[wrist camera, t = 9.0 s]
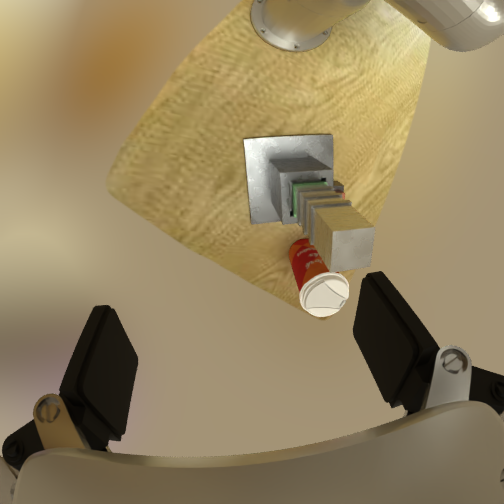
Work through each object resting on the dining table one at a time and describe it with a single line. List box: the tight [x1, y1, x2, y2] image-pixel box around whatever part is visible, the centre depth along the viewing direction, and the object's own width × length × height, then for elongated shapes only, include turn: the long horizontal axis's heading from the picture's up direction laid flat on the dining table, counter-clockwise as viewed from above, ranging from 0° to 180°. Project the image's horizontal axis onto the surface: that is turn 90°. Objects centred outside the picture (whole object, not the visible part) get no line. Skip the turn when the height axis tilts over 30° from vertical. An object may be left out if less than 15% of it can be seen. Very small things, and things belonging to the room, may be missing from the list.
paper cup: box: [289, 239, 349, 317], centre depth 46 cm, size 8×8×14 cm
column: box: [289, 178, 375, 273], centre depth 31 cm, size 4×4×18 cm
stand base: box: [243, 134, 345, 225], centre depth 40 cm, size 14×14×11 cm
